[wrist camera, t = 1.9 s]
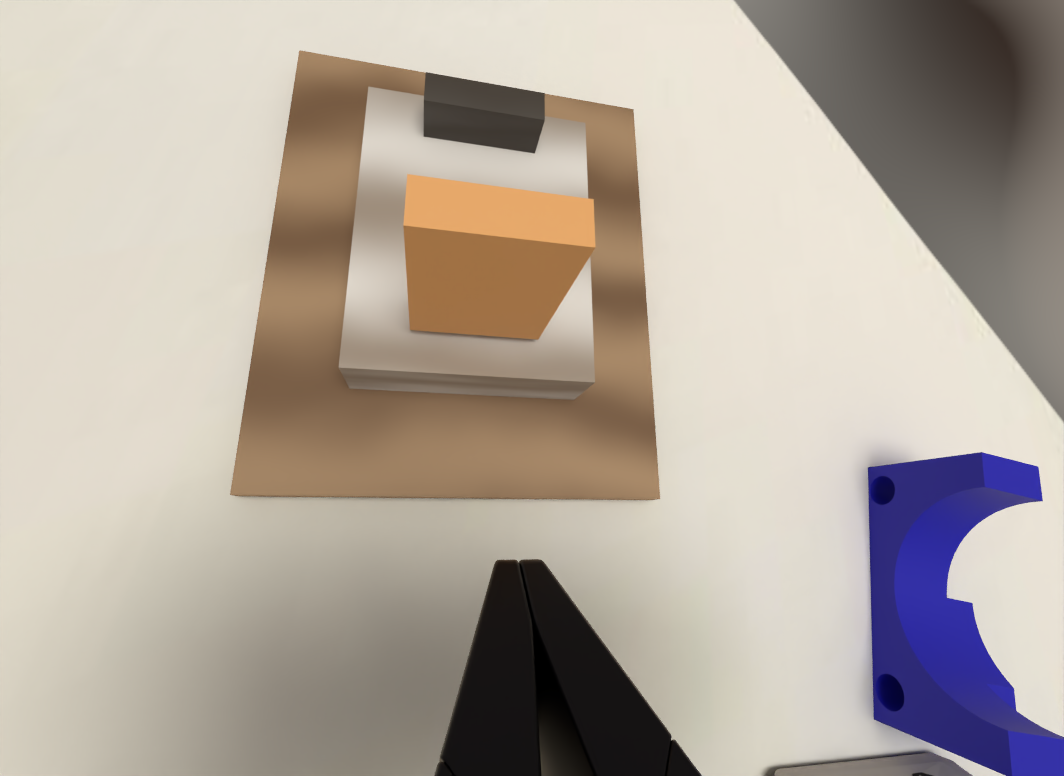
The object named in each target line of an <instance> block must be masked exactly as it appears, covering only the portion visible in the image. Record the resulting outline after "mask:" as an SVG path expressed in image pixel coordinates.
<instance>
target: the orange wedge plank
mask: <svg viewBox="0 0 1064 776" xmlns="http://www.w3.org/2000/svg"><path fill="white" fill-rule="evenodd" d="M403 228H404V244H405V260H406V276H407V292H408V308H409V324H410V330H417V331H430V332H443V333H457V334H470V335H483V336H497V337H510V338H523V339H537V340H538V339H539V338H540V336H541V334H542V333H543V331H544V330H545V328H546V326H547V325H548V323H549V322H550V320H551V318H552V317H553V315H554V313H555V312H556V310H557V309H558V307H559V305H560V304H561V302H562V301H563V299H564V297H565V296H566V294H567V293H568V291H569V289H570V288H571V286H572V285H573V283H574V281H575V280H576V278H577V277H578V275H579V273H580V272H581V270H582V268H583V267H584V265H585V264H586V262H587V260H588V259H589V257H590V256H591V254H592V252H593V251H594V249H595V248H596V247H595V223H594V199H588V198H580V197H573V196H566V195H558V194H551V193H544V192H536V191H529V190H522V189H514V188H507V187H499V186H492V185H485V184H477V183H470V182H463V181H455V180H448V179H440V178H433V177H426V176H418V175H411V174H407V184H406V197H405V211H404V224H403Z"/></svg>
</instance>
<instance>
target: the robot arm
mask: <svg viewBox="0 0 1064 776" xmlns="http://www.w3.org/2000/svg"><path fill="white" fill-rule="evenodd" d="M435 776H702V775H701V774H700V773H699V771H698V770H697V769H696V767H695V766H694V765H693V764H692V762H691V761H690V760H689V758H688V757H687V755H686V754H685V753H684V751H683V750H682V749H681V747H680V746H679V744H678V743H677V742H676V741H675V740H671V734H670V733H669V731H668V730H667V728H666V727H665V726H664V724H663V723H662V722H661V720H660V719H659V718H658V716H657V715H656V714H655V712H654V711H653V709H652V708H651V707H650V705H649V704H648V703H647V701H646V700H645V699H644V697H643V696H642V695H641V693H640V692H639V690H638V689H637V688H636V686H635V685H634V684H633V682H632V681H631V680H630V678H629V677H628V676H627V674H626V673H625V671H624V670H623V669H622V667H621V666H620V665H619V663H618V662H617V661H616V659H615V658H614V657H613V655H612V654H611V652H610V651H609V650H608V648H607V647H606V646H605V644H604V643H603V642H602V640H601V639H600V638H599V636H598V635H597V633H596V632H595V631H594V629H593V628H592V627H591V625H590V624H589V623H588V621H587V620H586V619H585V617H584V616H583V614H582V613H581V612H580V610H579V609H578V608H577V606H576V605H575V604H574V602H573V601H572V600H571V598H570V597H569V595H568V594H567V593H566V591H565V590H564V589H563V587H562V586H561V585H560V583H559V582H558V581H557V579H556V578H555V576H554V575H553V574H552V572H551V571H550V570H549V568H548V567H547V566H546V564H545V563H544V562H543V561H542V560H538V559H533V560H521V561H519V563H518V561H517V560H497V561H496V562H495V564H494V567H493V571H492V574H491V578H490V582H489V585H488V589H487V592H486V596H485V599H484V603H483V606H482V610H481V613H480V617H479V621H478V624H477V628H476V631H475V635H474V638H473V642H472V645H471V649H470V652H469V656H468V660H467V663H466V667H465V670H464V674H463V677H462V681H461V684H460V688H459V692H458V695H457V699H456V702H455V706H454V709H453V713H452V716H451V720H450V723H449V727H448V731H447V734H446V738H445V741H444V745H443V748H442V752H441V755H440V762H439V763H438V765H437V768H436V772H435Z"/></svg>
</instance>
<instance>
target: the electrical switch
mask: <svg viewBox="0 0 1064 776" xmlns="http://www.w3.org/2000/svg"><path fill="white" fill-rule="evenodd" d="M774 776H972V775H971V774H969V773H968V772H967V771H965V770H964V769H963V768H961V767H960V766H959V765H957V764H956V763H954V762H953V761H951V760H949V759H946V758H943V757H941V756H938V755H936V754H933V753H923V754H913V755H904V756H895V757H885V758H876V759H866V760H857V761H848V762H838V763H829V764H820V765H810V766H801V767H792V768H782V769H777V770H776V771H775V774H774Z"/></svg>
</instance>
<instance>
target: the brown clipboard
mask: <svg viewBox="0 0 1064 776" xmlns="http://www.w3.org/2000/svg"><path fill="white" fill-rule="evenodd" d="M407 174H411V175H418V176H426V177H433V178H440V179H448V180H455V181H463V182H470V183H477V184H485V185H492V186H499V187H507V188H514V189H522V190H529V191H536V192H544V193H551V194H558V195H566V196H573V197H580V198H588V199H594V223H595V247H596V248H595V249H594V251H593V252H592V254H591V256H590V257H589V259H588V260H587V262H586V264H585V265H584V267H583V268H582V270H581V272H580V273H579V275H578V277H577V278H576V280H575V281H574V283H573V285H572V286H571V288H570V289H569V291H568V293H567V294H566V296H565V297H564V299H563V301H562V302H561V304H560V305H559V307H558V309H557V310H556V312H555V313H554V315H553V317H552V318H551V320H550V322H549V323H548V325H547V326H546V328H545V330H544V331H543V333H542V334H541V336H540V338H539V339H538V340H537V339H523V338H510V337H497V336H483V335H470V334H457V333H443V332H430V331H417V330H410V324H409V308H408V292H407V276H406V260H405V244H404V228H403V224H404V211H405V197H406V184H407ZM230 495H235V496H271V497H379V498H488V499H597V500H655V499H660V492H659V477H658V463H657V448H656V434H655V419H654V404H653V390H652V375H651V361H650V346H649V332H648V317H647V302H646V288H645V273H644V259H643V244H642V229H641V215H640V200H639V186H638V171H637V156H636V142H635V127H634V113H633V109H628V108H622V107H617V106H611V105H605V104H600V103H594V102H588V101H583V100H577V99H571V98H566V97H560V96H554V95H549V94H545V93H540V92H534V91H529V90H523V89H517V88H512V87H506V86H500V85H495V84H489V83H483V82H478V81H472V80H466V79H461V78H455V77H449V76H444V75H438V74H432V73H427V72H426V73H424V72H418V71H413V70H407V69H401V68H396V67H390V66H384V65H379V64H373V63H367V62H362V61H356V60H350V59H345V58H339V57H333V56H328V55H322V54H316V53H311V52H305V51H299V57H298V63H297V70H296V76H295V82H294V89H293V95H292V102H291V108H290V114H289V121H288V127H287V134H286V140H285V147H284V153H283V159H282V166H281V172H280V179H279V185H278V191H277V198H276V204H275V211H274V217H273V223H272V230H271V236H270V243H269V249H268V255H267V262H266V268H265V275H264V281H263V288H262V294H261V300H260V307H259V313H258V320H257V326H256V332H255V339H254V345H253V352H252V358H251V364H250V371H249V377H248V384H247V390H246V396H245V403H244V409H243V416H242V422H241V429H240V435H239V441H238V448H237V454H236V461H235V467H234V473H233V480H232V486H231V493H230Z"/></svg>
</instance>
